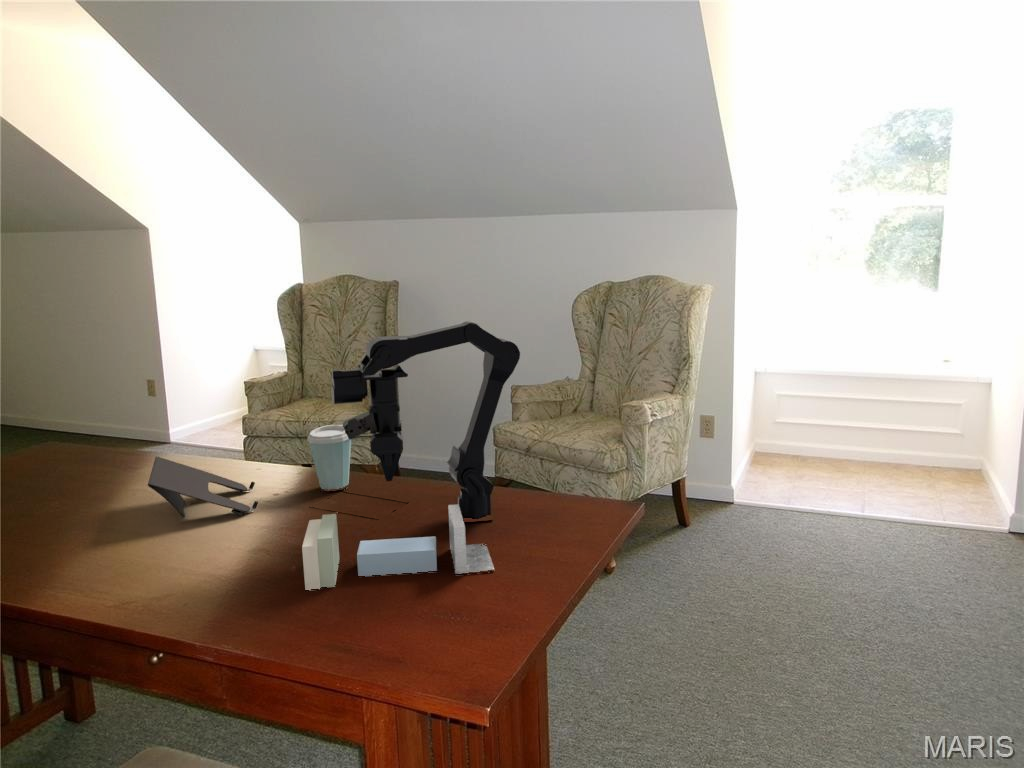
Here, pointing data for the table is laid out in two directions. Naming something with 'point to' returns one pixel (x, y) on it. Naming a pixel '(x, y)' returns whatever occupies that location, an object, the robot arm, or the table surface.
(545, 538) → the table surface
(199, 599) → the table surface
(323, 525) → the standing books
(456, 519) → the l-shaped bookend
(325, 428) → the disposable coffee cup
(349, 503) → the table surface
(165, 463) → the portable electronic device stand
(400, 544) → the light blue rectangular block
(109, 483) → the table surface
